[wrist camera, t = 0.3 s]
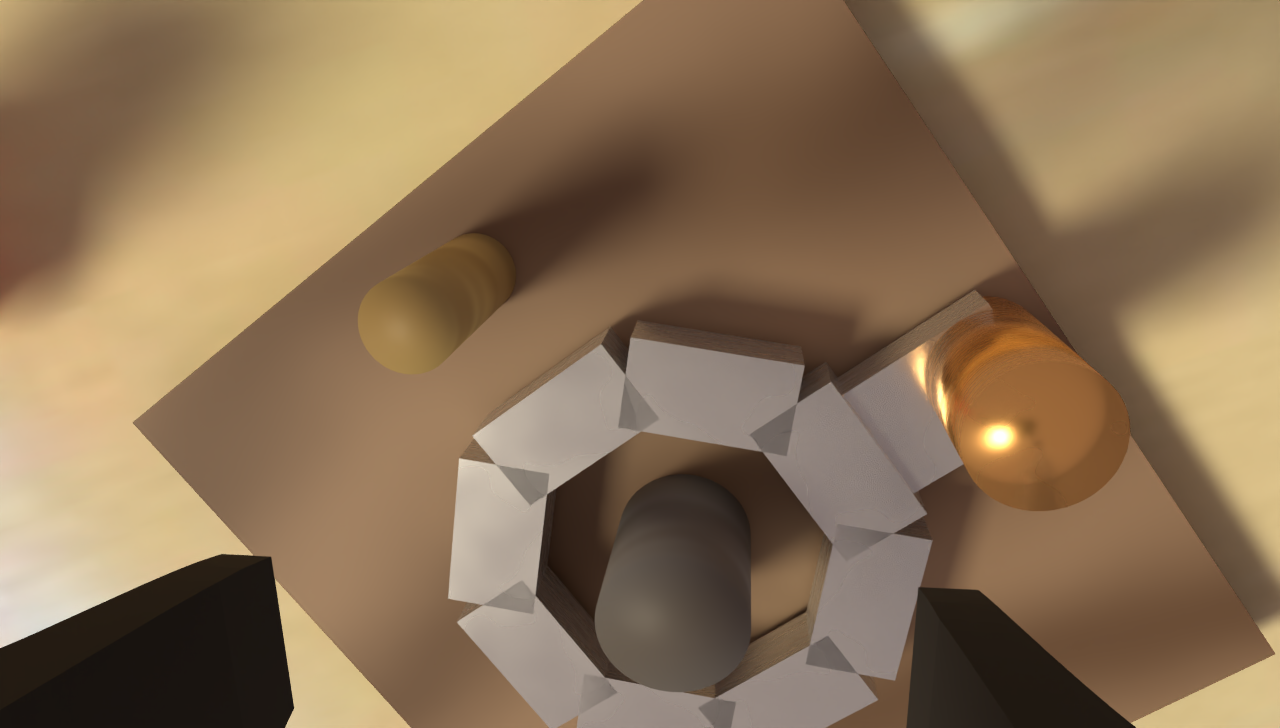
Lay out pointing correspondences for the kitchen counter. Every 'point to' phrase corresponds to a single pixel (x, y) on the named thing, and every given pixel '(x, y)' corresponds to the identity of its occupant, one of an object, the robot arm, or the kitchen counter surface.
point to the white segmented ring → (810, 465)
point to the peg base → (618, 297)
